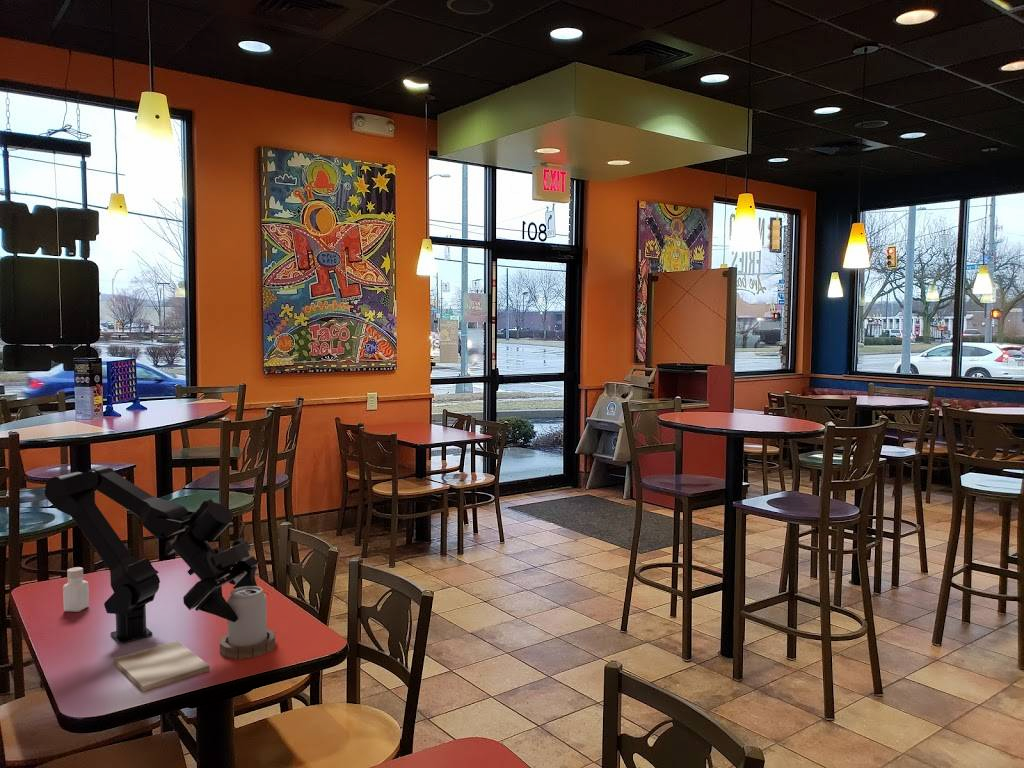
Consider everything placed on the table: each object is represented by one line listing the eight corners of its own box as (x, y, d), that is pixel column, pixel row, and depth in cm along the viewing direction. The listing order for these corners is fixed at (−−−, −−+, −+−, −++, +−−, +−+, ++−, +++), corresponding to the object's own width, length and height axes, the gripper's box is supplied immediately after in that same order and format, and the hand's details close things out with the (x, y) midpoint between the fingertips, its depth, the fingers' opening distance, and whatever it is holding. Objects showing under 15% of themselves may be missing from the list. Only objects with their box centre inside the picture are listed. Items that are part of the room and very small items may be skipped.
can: (275, 644, 155) (274, 587, 154) (245, 658, 148) (244, 599, 147) (250, 637, 159) (249, 581, 158) (220, 650, 152) (219, 592, 151)
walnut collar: (211, 647, 153) (211, 637, 153) (260, 632, 161) (260, 623, 161) (234, 663, 146) (234, 653, 146) (284, 647, 153) (284, 638, 153)
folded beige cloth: (114, 663, 146) (113, 658, 146) (177, 645, 154) (177, 640, 154) (142, 691, 134) (142, 686, 134) (209, 670, 143) (209, 665, 143)
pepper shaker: (90, 606, 176) (88, 566, 175) (79, 612, 172) (77, 572, 171) (74, 605, 176) (72, 566, 176) (62, 612, 173) (61, 571, 172)
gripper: (194, 542, 144) (248, 602, 142) (249, 518, 162) (297, 572, 160) (160, 579, 146) (212, 639, 144) (217, 552, 164) (264, 605, 162)
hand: (249, 612), depth 153 cm, fingers open, 9 cm apart
